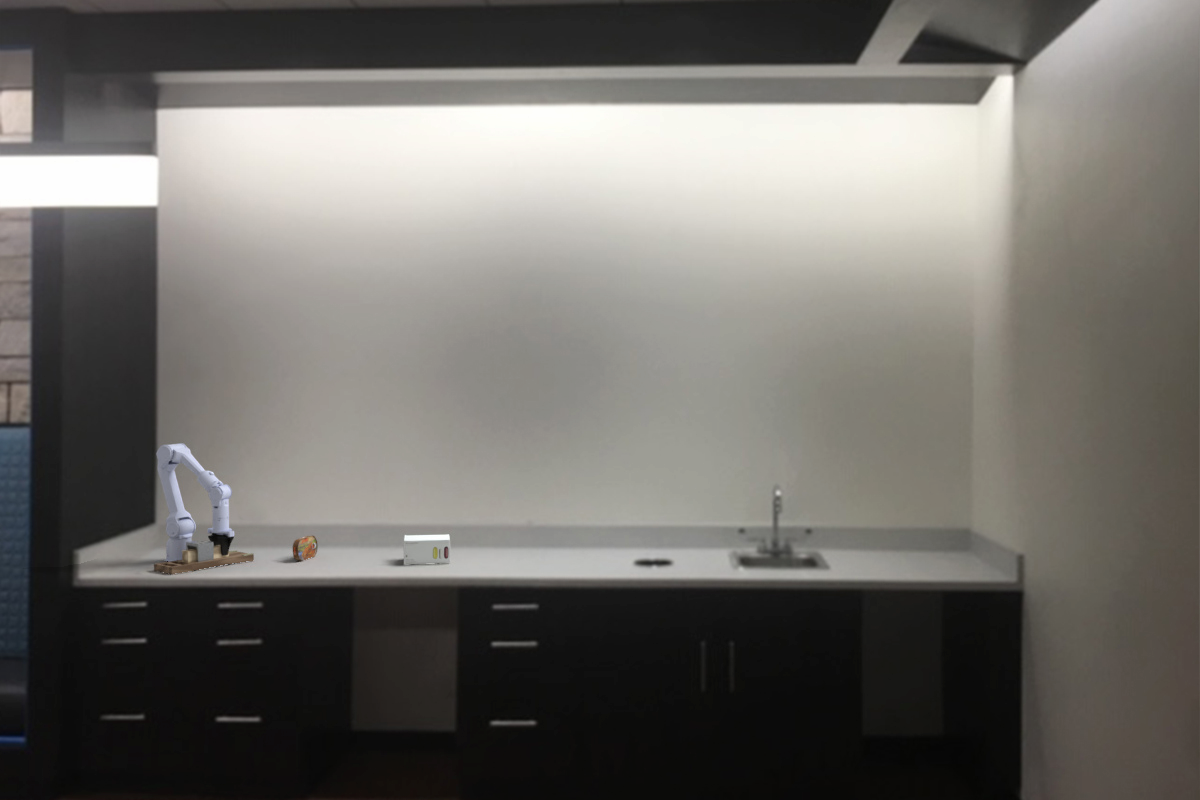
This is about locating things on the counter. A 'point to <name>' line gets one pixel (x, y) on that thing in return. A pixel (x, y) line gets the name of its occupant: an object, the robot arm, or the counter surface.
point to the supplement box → (426, 549)
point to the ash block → (192, 554)
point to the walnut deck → (202, 563)
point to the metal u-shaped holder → (202, 549)
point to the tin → (305, 548)
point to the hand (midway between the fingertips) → (221, 554)
